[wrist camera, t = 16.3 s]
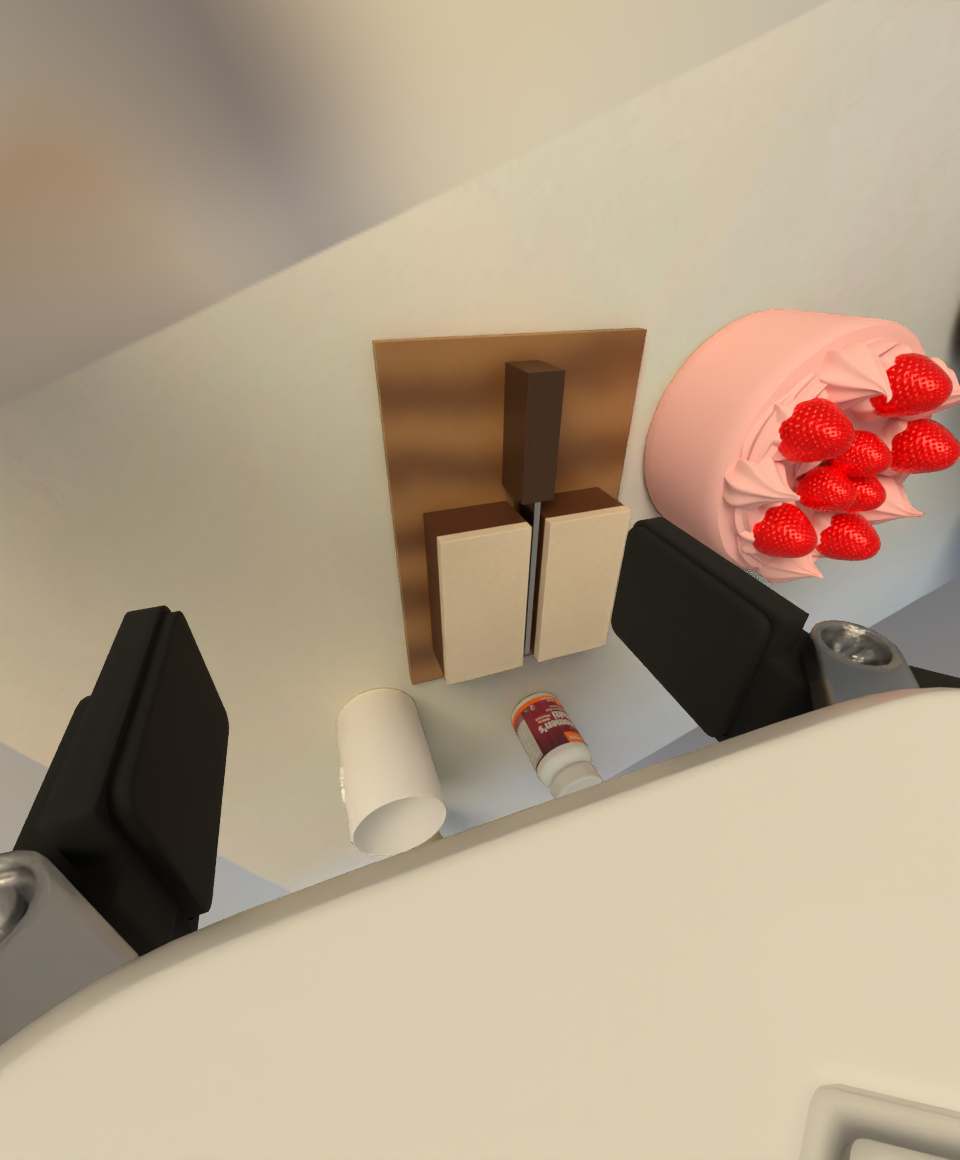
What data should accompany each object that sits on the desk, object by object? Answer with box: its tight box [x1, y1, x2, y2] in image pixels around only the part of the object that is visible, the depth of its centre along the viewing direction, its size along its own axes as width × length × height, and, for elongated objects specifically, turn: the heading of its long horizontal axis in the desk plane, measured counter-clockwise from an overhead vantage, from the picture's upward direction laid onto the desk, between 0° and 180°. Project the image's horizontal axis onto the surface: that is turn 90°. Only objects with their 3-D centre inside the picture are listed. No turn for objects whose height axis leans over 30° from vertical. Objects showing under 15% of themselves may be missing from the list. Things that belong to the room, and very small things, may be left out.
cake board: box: [372, 328, 647, 684], centre depth 41 cm, size 30×20×1 cm, turn 0°
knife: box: [502, 360, 566, 654], centre depth 39 cm, size 24×3×4 cm, turn 0°
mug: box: [336, 688, 447, 856], centre depth 45 cm, size 8×12×12 cm
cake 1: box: [423, 501, 532, 685], centre depth 40 cm, size 14×7×5 cm, turn 0°
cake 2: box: [530, 487, 631, 662], centre depth 42 cm, size 14×7×5 cm, turn 0°
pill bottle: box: [511, 693, 603, 799], centre depth 52 cm, size 6×6×11 cm
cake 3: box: [644, 309, 960, 583], centre depth 39 cm, size 20×20×14 cm
